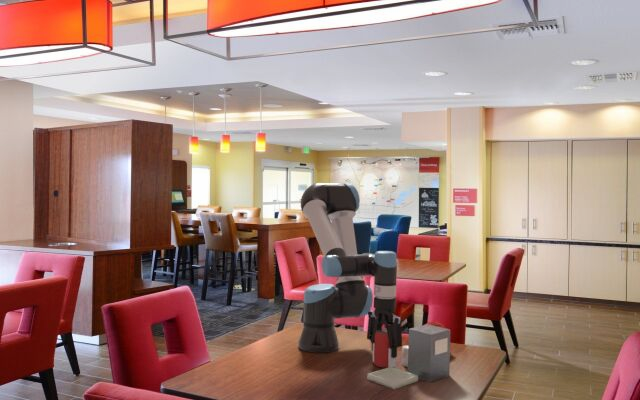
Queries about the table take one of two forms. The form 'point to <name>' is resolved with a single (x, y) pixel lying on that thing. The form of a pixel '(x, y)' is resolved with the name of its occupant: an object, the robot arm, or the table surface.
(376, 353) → the beer can
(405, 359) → the white egg
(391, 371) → the tray
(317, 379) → the table surface
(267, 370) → the table surface
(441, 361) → the box
